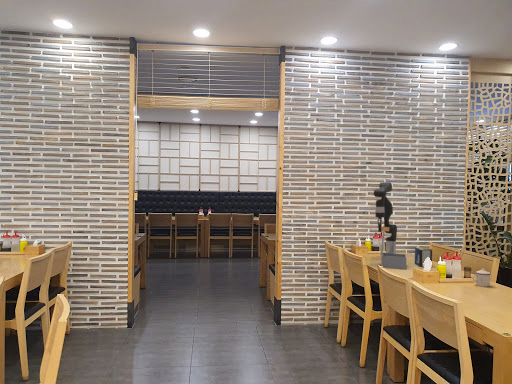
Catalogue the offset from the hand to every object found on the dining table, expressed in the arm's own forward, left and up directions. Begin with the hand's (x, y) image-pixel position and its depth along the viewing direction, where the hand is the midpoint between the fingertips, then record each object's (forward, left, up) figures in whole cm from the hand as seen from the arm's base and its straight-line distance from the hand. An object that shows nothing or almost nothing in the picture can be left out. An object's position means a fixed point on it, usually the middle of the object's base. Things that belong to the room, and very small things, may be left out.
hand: (379, 231), depth 350 cm
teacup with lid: (+46, +71, -30) cm, 90 cm away
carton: (0, +12, -29) cm, 32 cm away
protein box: (-17, +36, -30) cm, 50 cm away
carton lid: (0, +7, -8) cm, 10 cm away
